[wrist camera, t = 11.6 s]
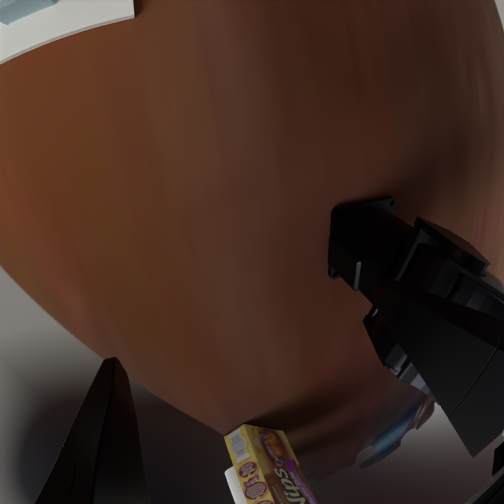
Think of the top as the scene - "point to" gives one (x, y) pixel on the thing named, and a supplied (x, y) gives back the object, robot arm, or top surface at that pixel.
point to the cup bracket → (53, 21)
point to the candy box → (267, 467)
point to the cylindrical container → (235, 486)
